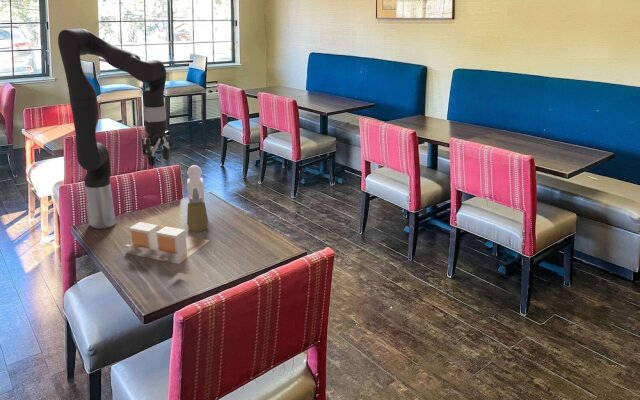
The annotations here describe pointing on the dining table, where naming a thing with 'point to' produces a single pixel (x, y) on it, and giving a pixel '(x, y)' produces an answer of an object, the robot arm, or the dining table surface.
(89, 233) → the dining table surface
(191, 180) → the white figurine
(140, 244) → the faced carton
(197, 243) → the shelf board
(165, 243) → the turned carton
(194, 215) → the squeeze bottle
